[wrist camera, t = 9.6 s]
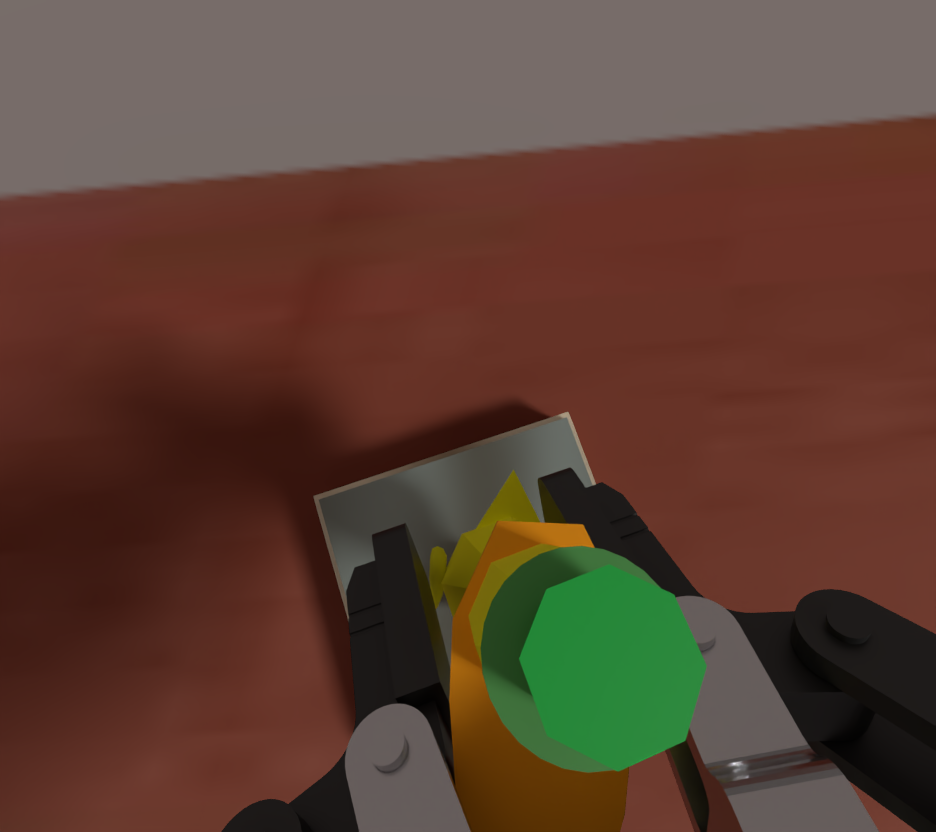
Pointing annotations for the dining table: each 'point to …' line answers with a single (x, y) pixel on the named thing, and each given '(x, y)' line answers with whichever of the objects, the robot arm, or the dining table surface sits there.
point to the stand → (444, 497)
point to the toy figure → (557, 671)
